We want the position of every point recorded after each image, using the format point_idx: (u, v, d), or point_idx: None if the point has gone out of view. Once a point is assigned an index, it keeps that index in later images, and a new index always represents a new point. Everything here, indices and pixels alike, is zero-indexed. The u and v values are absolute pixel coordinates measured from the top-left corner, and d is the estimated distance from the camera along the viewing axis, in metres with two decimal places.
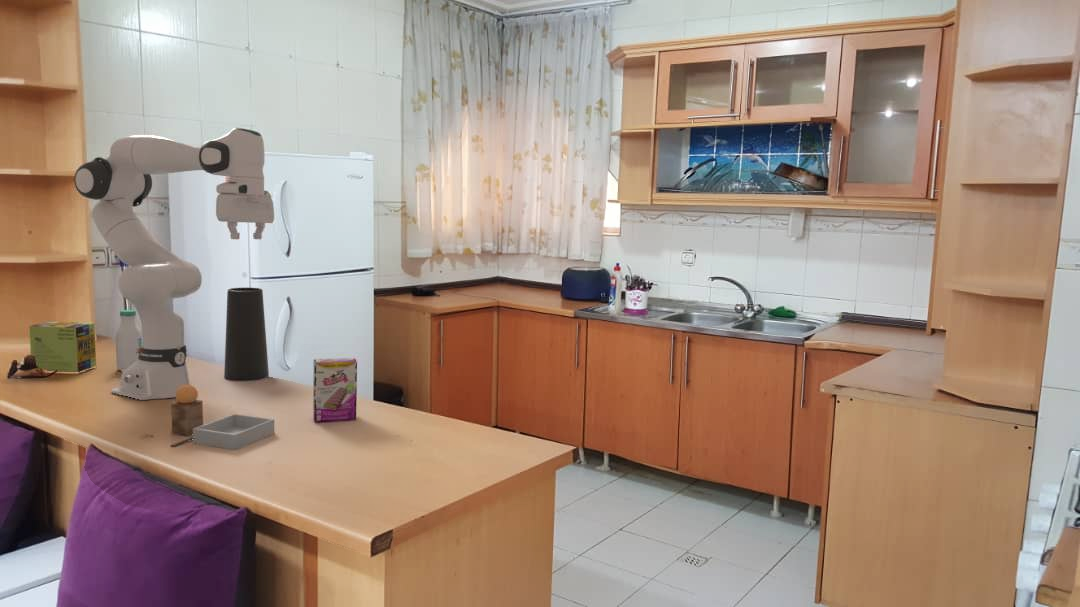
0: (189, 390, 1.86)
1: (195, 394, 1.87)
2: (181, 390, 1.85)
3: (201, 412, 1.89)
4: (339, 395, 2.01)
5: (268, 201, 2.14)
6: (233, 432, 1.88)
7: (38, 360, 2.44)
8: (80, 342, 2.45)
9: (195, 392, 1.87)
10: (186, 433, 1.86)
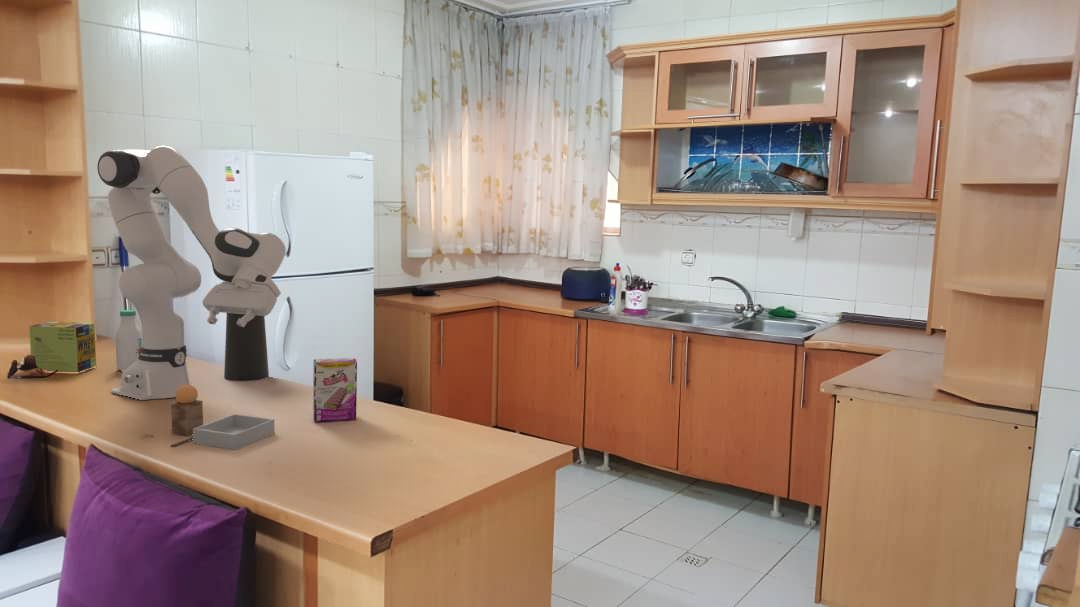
0: (189, 390, 1.86)
1: (195, 394, 1.87)
2: (181, 390, 1.85)
3: (201, 412, 1.89)
4: (339, 395, 2.01)
5: None
6: (233, 432, 1.88)
7: (38, 360, 2.44)
8: (80, 342, 2.45)
9: (195, 392, 1.87)
10: (186, 433, 1.86)
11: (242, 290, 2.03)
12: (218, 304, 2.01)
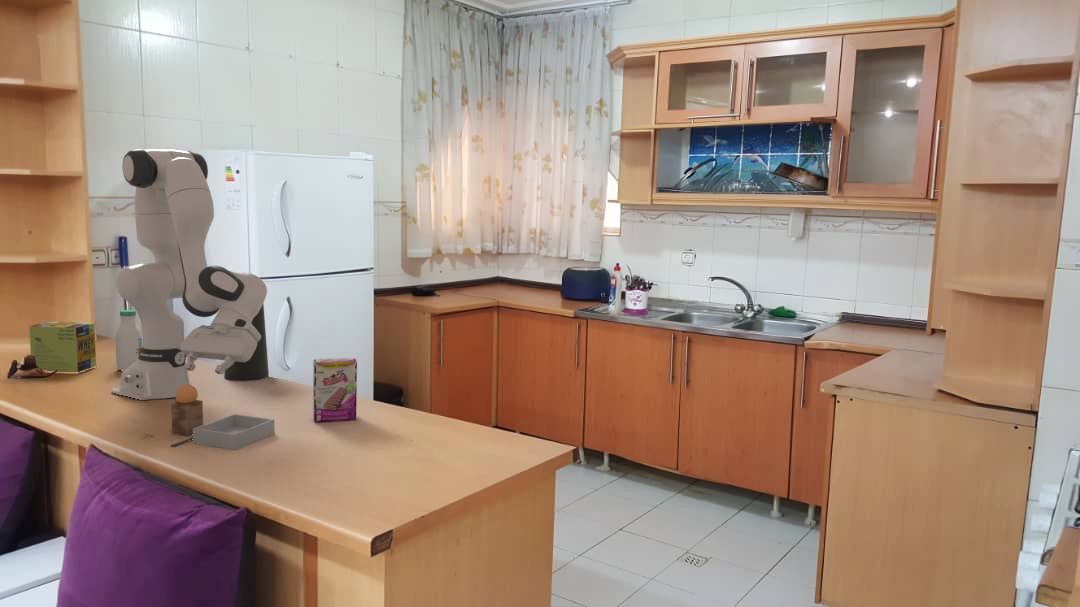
0: (189, 390, 1.86)
1: (195, 394, 1.87)
2: (181, 390, 1.85)
3: (201, 412, 1.89)
4: (339, 395, 2.01)
5: None
6: (233, 432, 1.88)
7: (38, 360, 2.44)
8: (80, 342, 2.45)
9: (195, 392, 1.87)
10: (186, 433, 1.86)
11: (221, 335, 1.96)
12: (196, 350, 1.95)
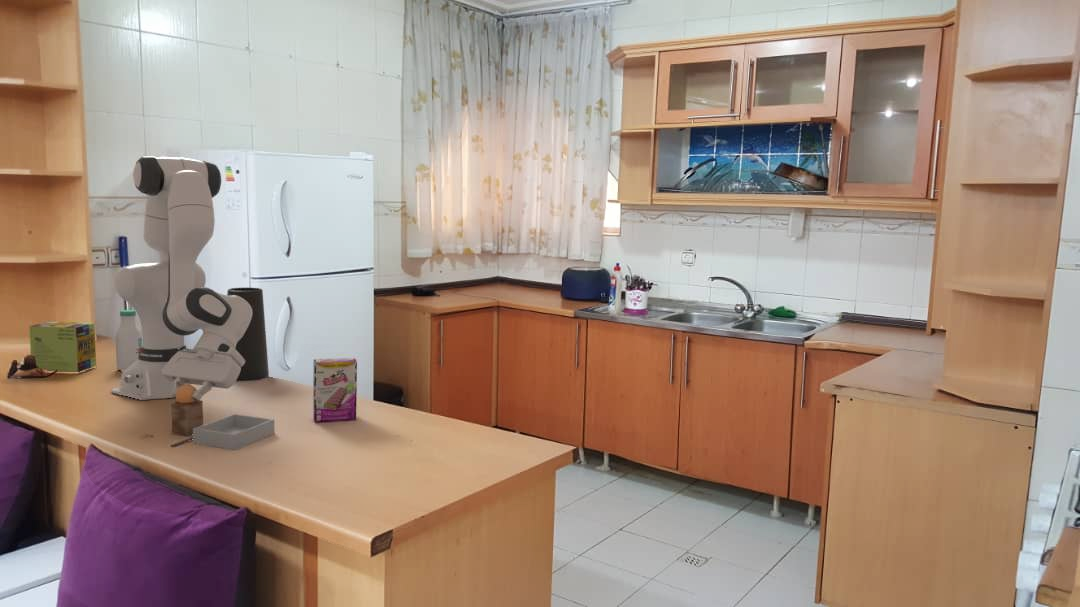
0: (189, 390, 1.86)
1: None
2: (181, 390, 1.85)
3: (201, 412, 1.89)
4: (339, 395, 2.01)
5: None
6: (233, 432, 1.88)
7: (38, 360, 2.44)
8: (80, 342, 2.45)
9: None
10: (186, 433, 1.86)
11: (204, 360, 1.91)
12: (178, 375, 1.90)
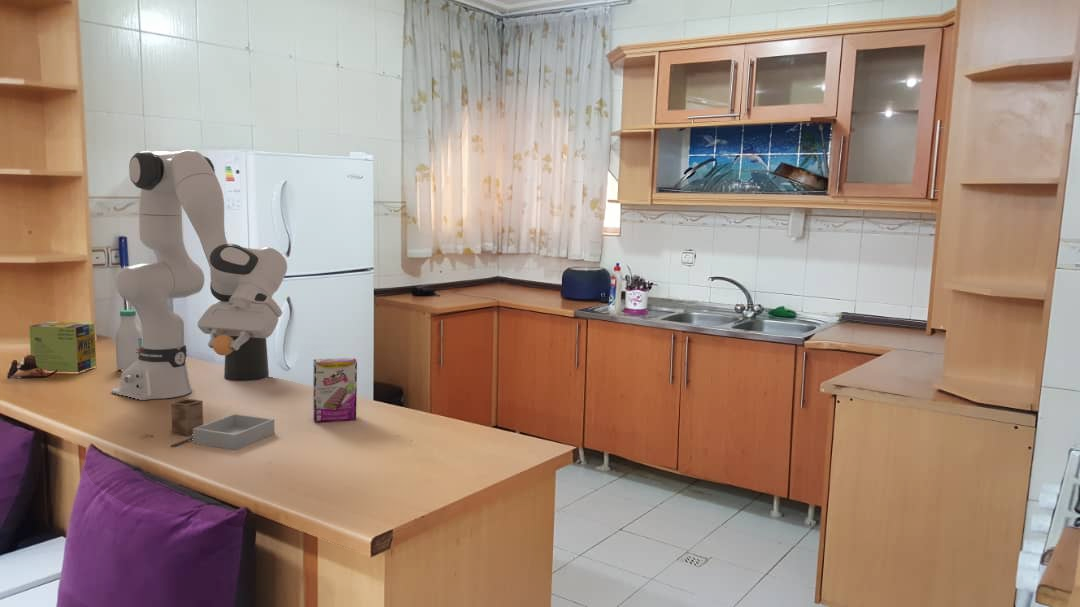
0: (226, 339, 1.81)
1: None
2: (219, 339, 1.81)
3: (201, 412, 1.89)
4: (339, 395, 2.01)
5: None
6: (233, 432, 1.88)
7: (38, 360, 2.44)
8: (80, 342, 2.45)
9: None
10: (186, 433, 1.86)
11: (240, 310, 1.87)
12: (214, 326, 1.85)
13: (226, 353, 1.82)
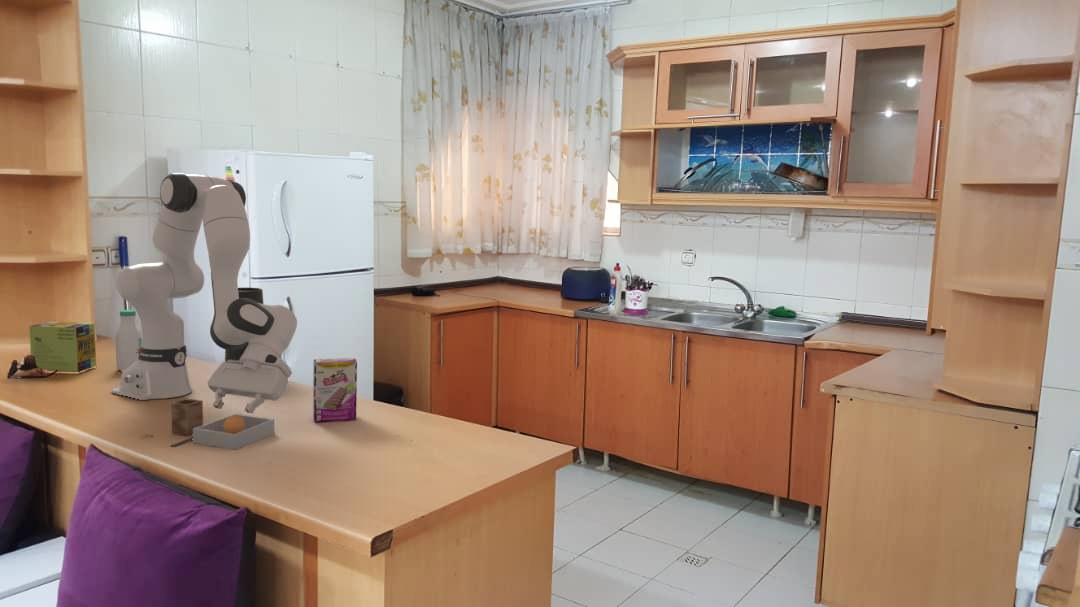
0: (237, 421, 1.83)
1: (243, 425, 1.85)
2: (230, 421, 1.83)
3: (201, 412, 1.89)
4: (339, 395, 2.01)
5: None
6: None
7: (38, 360, 2.44)
8: (80, 342, 2.45)
9: (243, 423, 1.84)
10: (186, 433, 1.86)
11: (251, 371, 1.88)
12: (225, 386, 1.87)
13: None
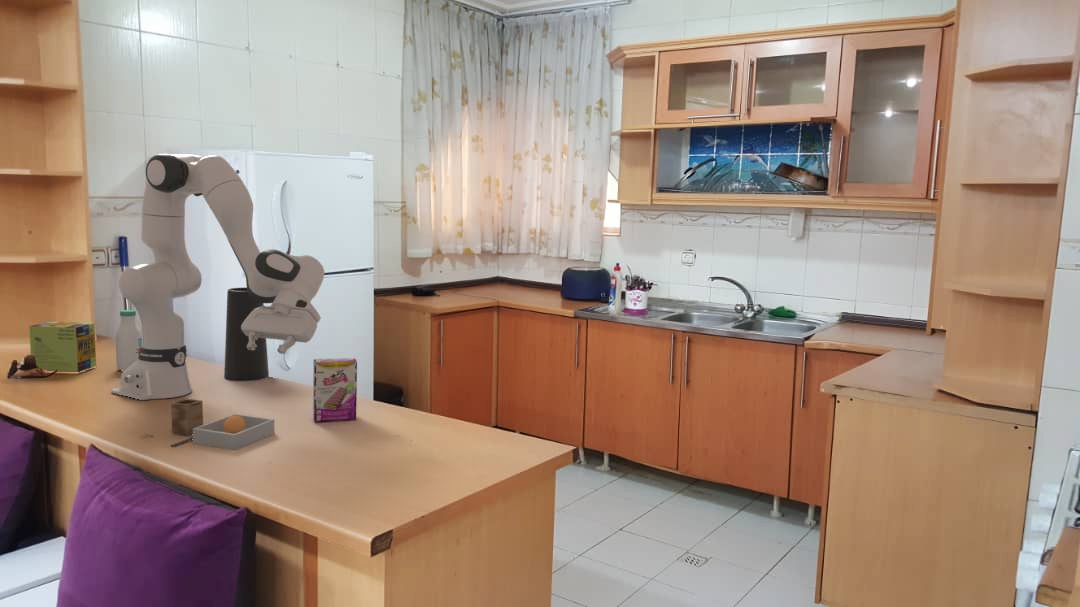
0: (237, 422, 1.83)
1: (244, 426, 1.85)
2: (230, 421, 1.83)
3: (201, 412, 1.89)
4: (339, 395, 2.01)
5: None
6: None
7: (38, 360, 2.44)
8: (80, 342, 2.45)
9: (243, 424, 1.84)
10: (186, 433, 1.86)
11: (282, 315, 1.98)
12: (257, 330, 1.97)
13: None
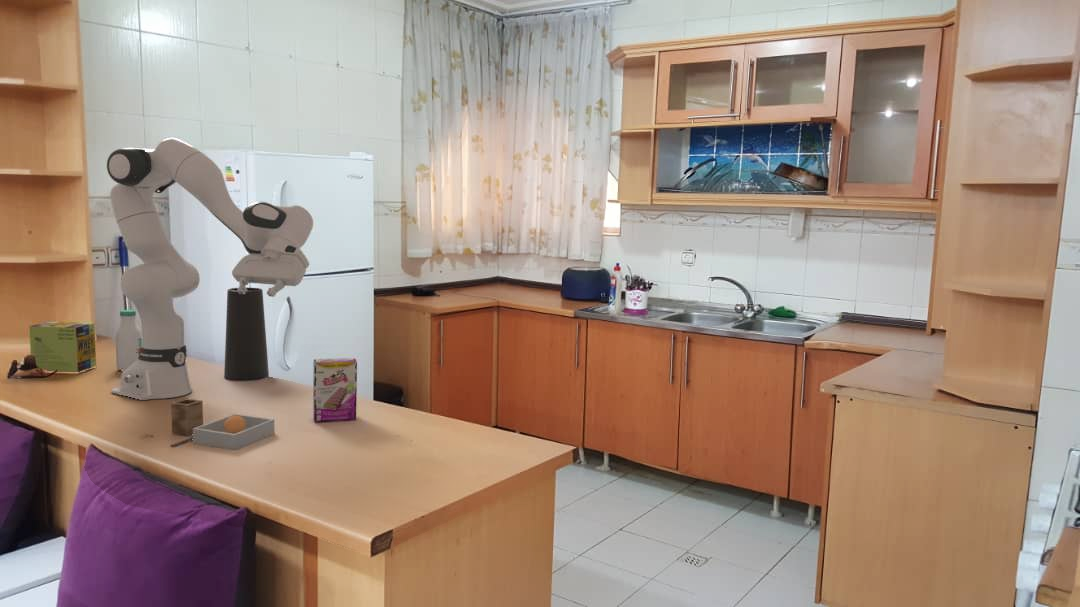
0: (238, 422, 1.83)
1: (244, 426, 1.85)
2: (231, 421, 1.83)
3: (201, 412, 1.89)
4: (339, 395, 2.01)
5: None
6: None
7: (38, 360, 2.44)
8: (80, 342, 2.45)
9: (244, 424, 1.84)
10: (186, 433, 1.86)
11: (271, 261, 2.04)
12: (248, 274, 2.03)
13: None
